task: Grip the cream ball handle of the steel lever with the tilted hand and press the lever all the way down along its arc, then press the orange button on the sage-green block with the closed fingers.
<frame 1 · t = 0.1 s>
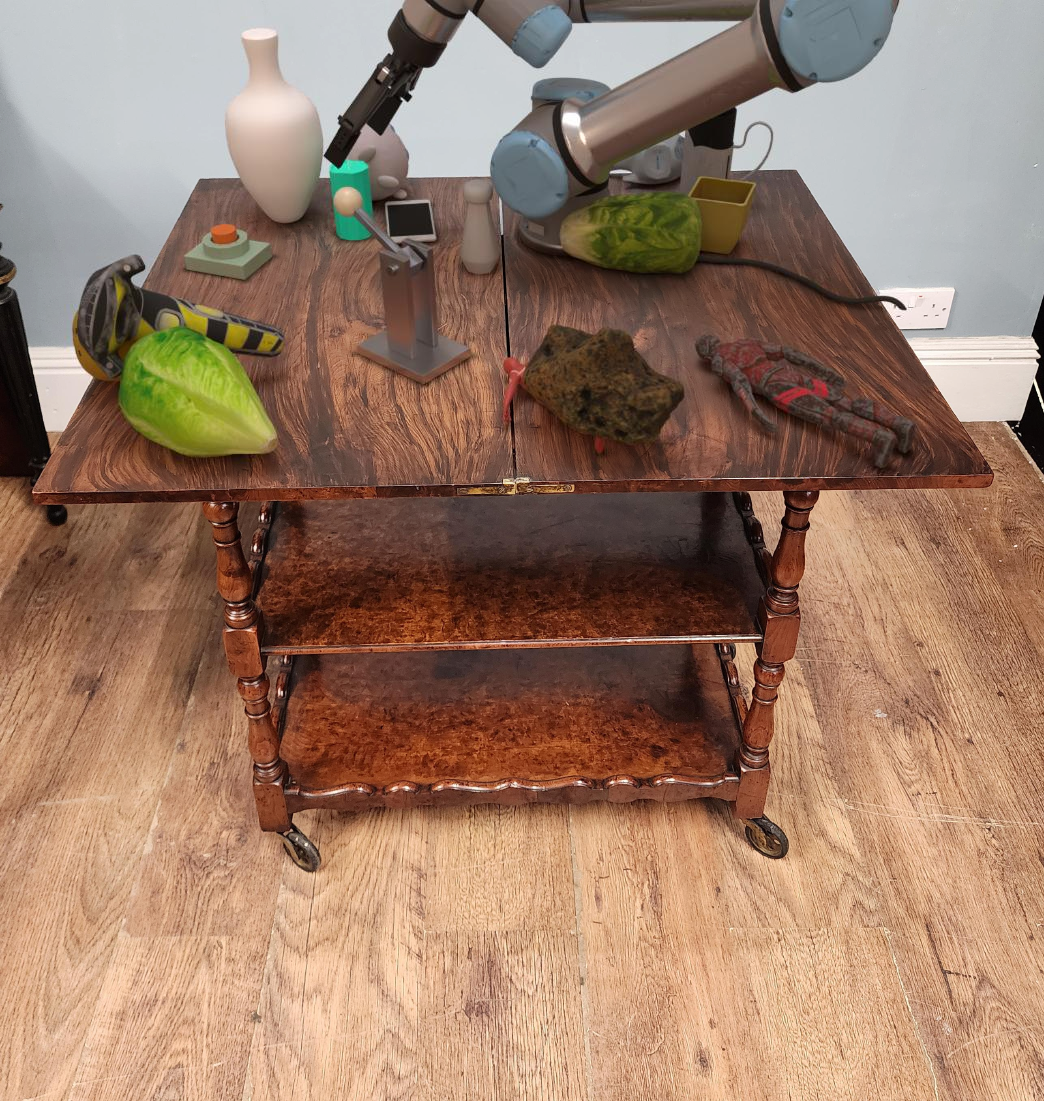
hand: (353, 145, 157), 15 cm above the table, tool tilted 35°, fingers open, 13 cm apart
figurine 3: (901, 444, 122), point 2 cm above the table
lever: (376, 231, 134), point 16 cm above the table, hinge at 28.0°
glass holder: (718, 205, 177), on the table
lettuce: (224, 423, 129), on the table, touching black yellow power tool
button block: (229, 263, 162), on the table
salt shaker: (480, 269, 161), on the table
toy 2: (197, 333, 139), point 4 cm above the table
candle: (355, 233, 170), on the table
figurine 2: (620, 434, 125), point 1 cm above the table, touching rock
bracket: (414, 355, 142), on the table
flower pot: (714, 248, 166), on the table
vase: (287, 220, 174), on the table
lettuce 2: (628, 267, 161), on the table
smartphone: (410, 224, 172), on the table
rock: (661, 400, 115), point 10 cm above the table, touching figurine 2
toy: (371, 174, 170), point 7 cm above the table
button: (224, 234, 159), point 4 cm above the table, slide at 0.1 cm
figurine: (653, 161, 179), point 5 cm above the table
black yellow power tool: (204, 337, 123), point 12 cm above the table, touching lettuce
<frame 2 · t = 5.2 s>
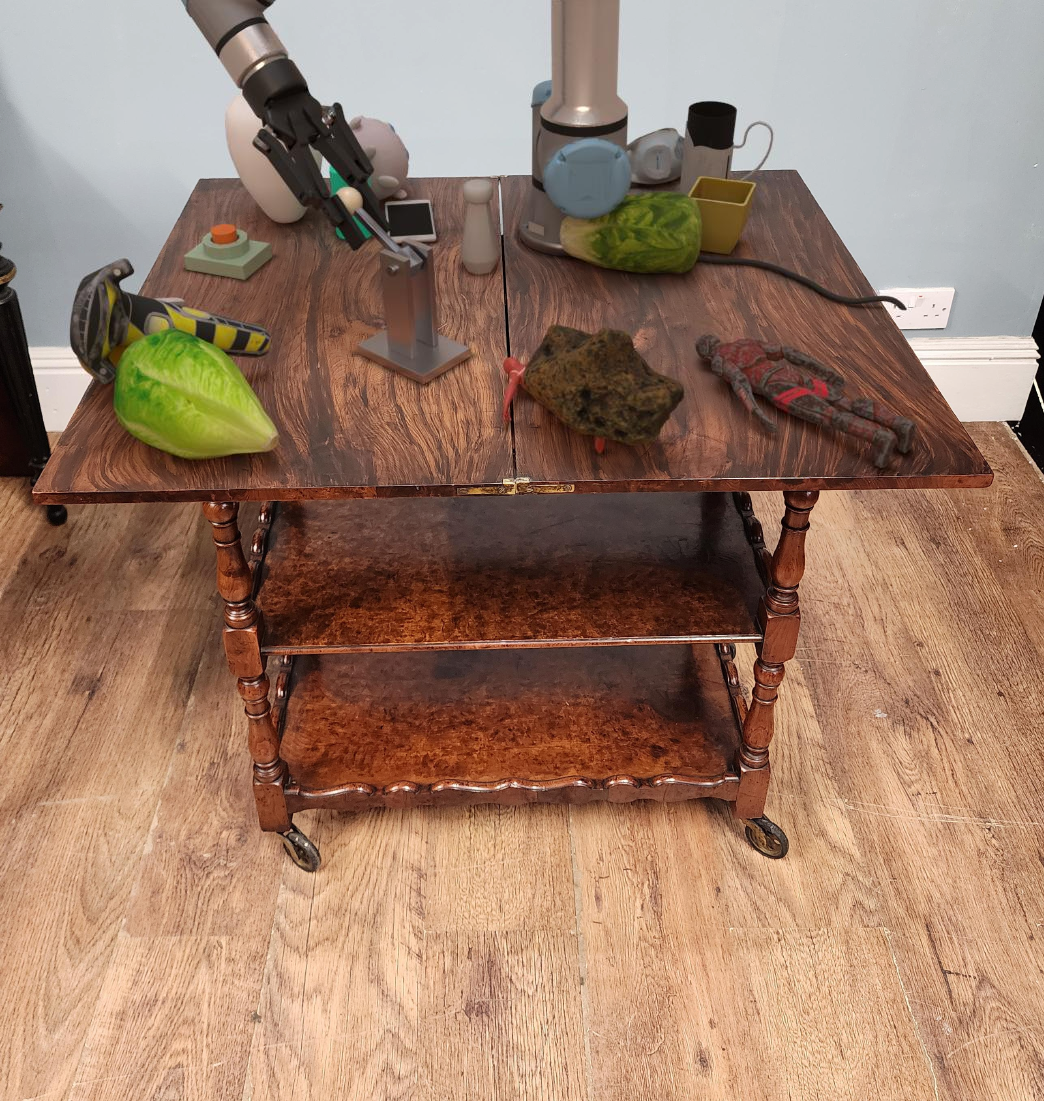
hand: (372, 239, 135), 14 cm above the table, tool tilted 45°, fingers closed on lever, 4 cm apart
lever: (376, 231, 134), point 16 cm above the table, hinge at 28.0°, touching gripper
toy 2: (197, 333, 139), point 4 cm above the table, touching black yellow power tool
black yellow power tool: (197, 339, 122), point 12 cm above the table, touching lettuce, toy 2
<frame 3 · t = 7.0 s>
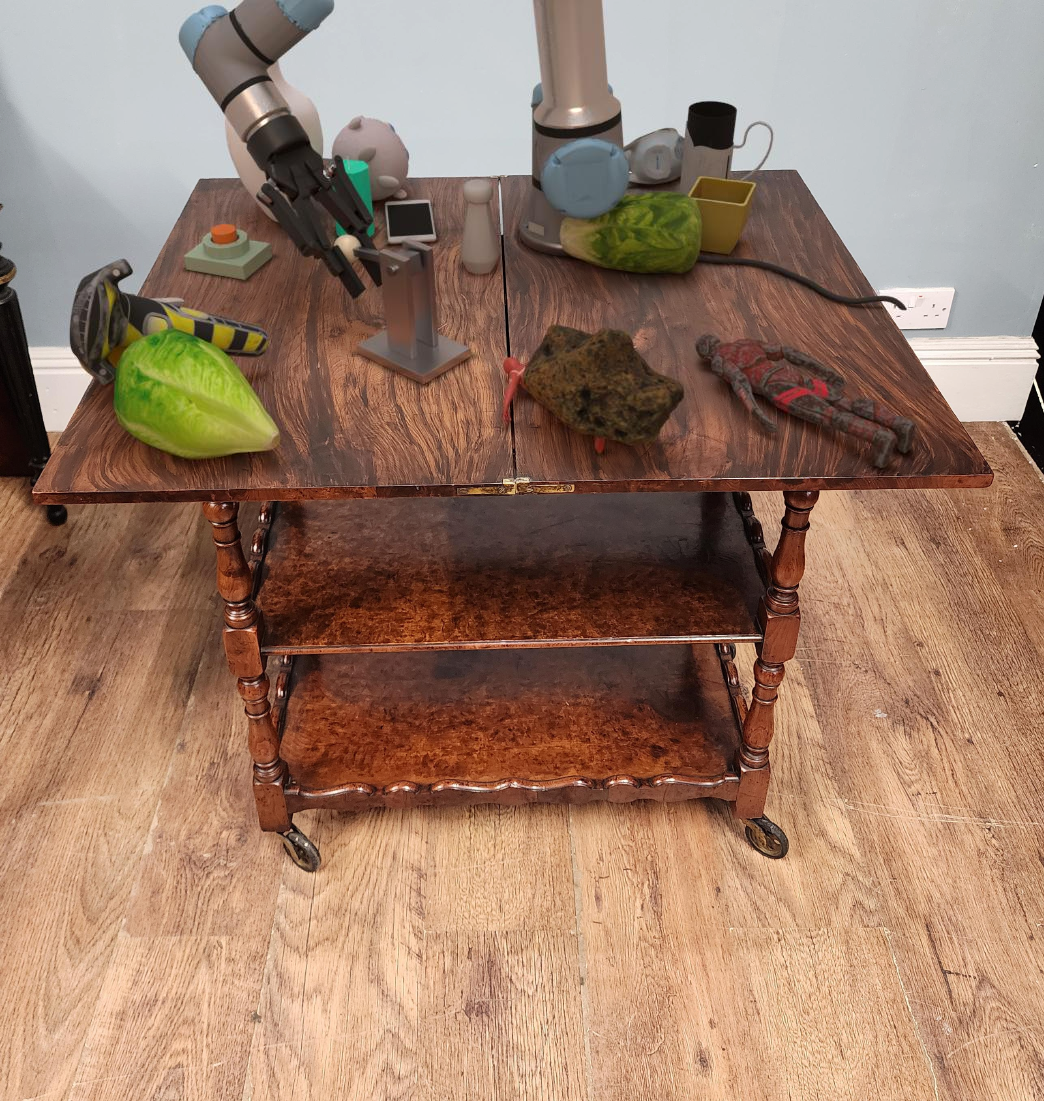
hand: (371, 287, 140), 7 cm above the table, tool tilted 45°, fingers closed on lever, 4 cm apart
lever: (375, 255, 137), point 12 cm above the table, hinge at -7.7°, touching gripper
everything else where it was.
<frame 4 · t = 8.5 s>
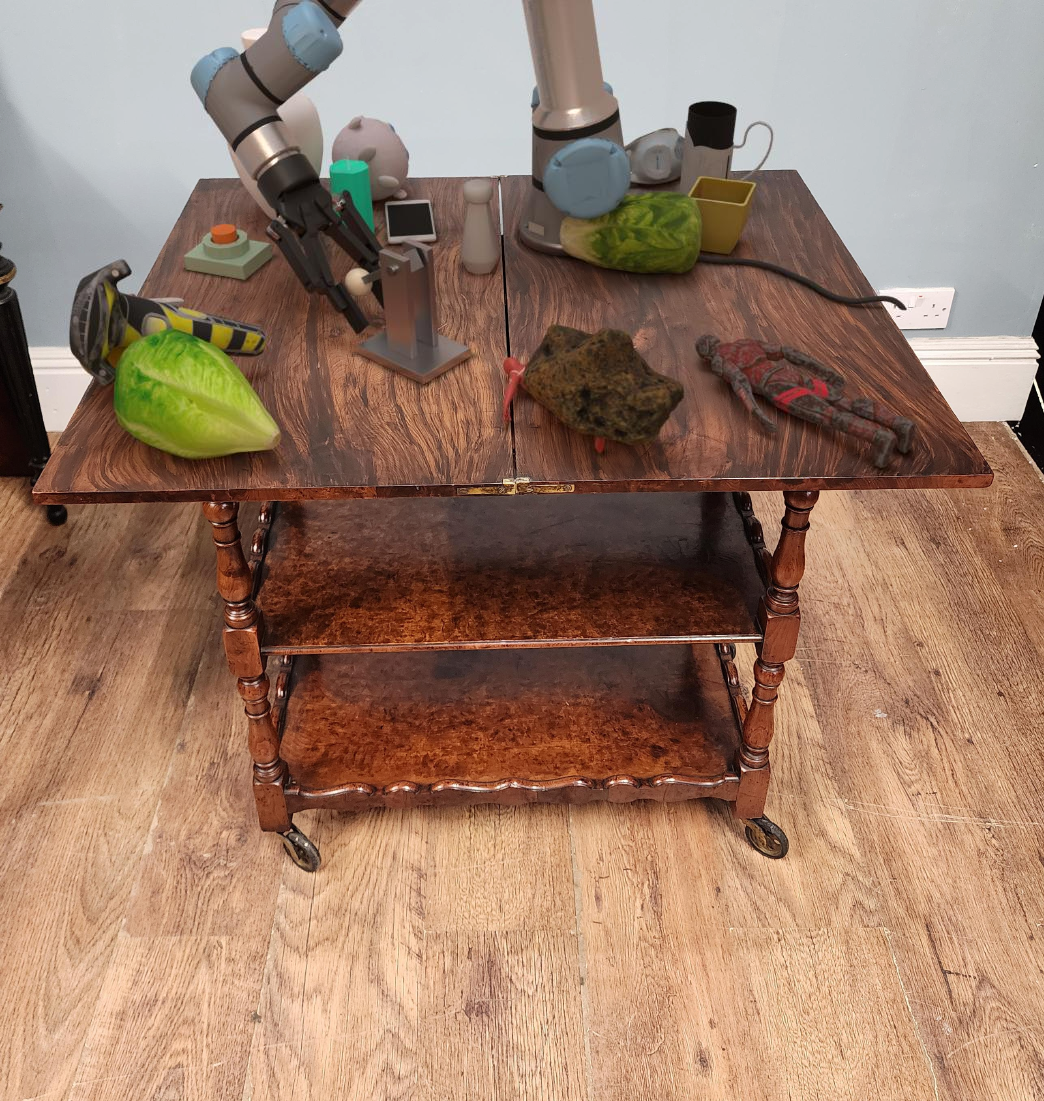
hand: (379, 320, 143), 3 cm above the table, tool tilted 45°, fingers open, 5 cm apart
lever: (381, 273, 138), point 10 cm above the table, hinge at -31.0°
everything else where it was.
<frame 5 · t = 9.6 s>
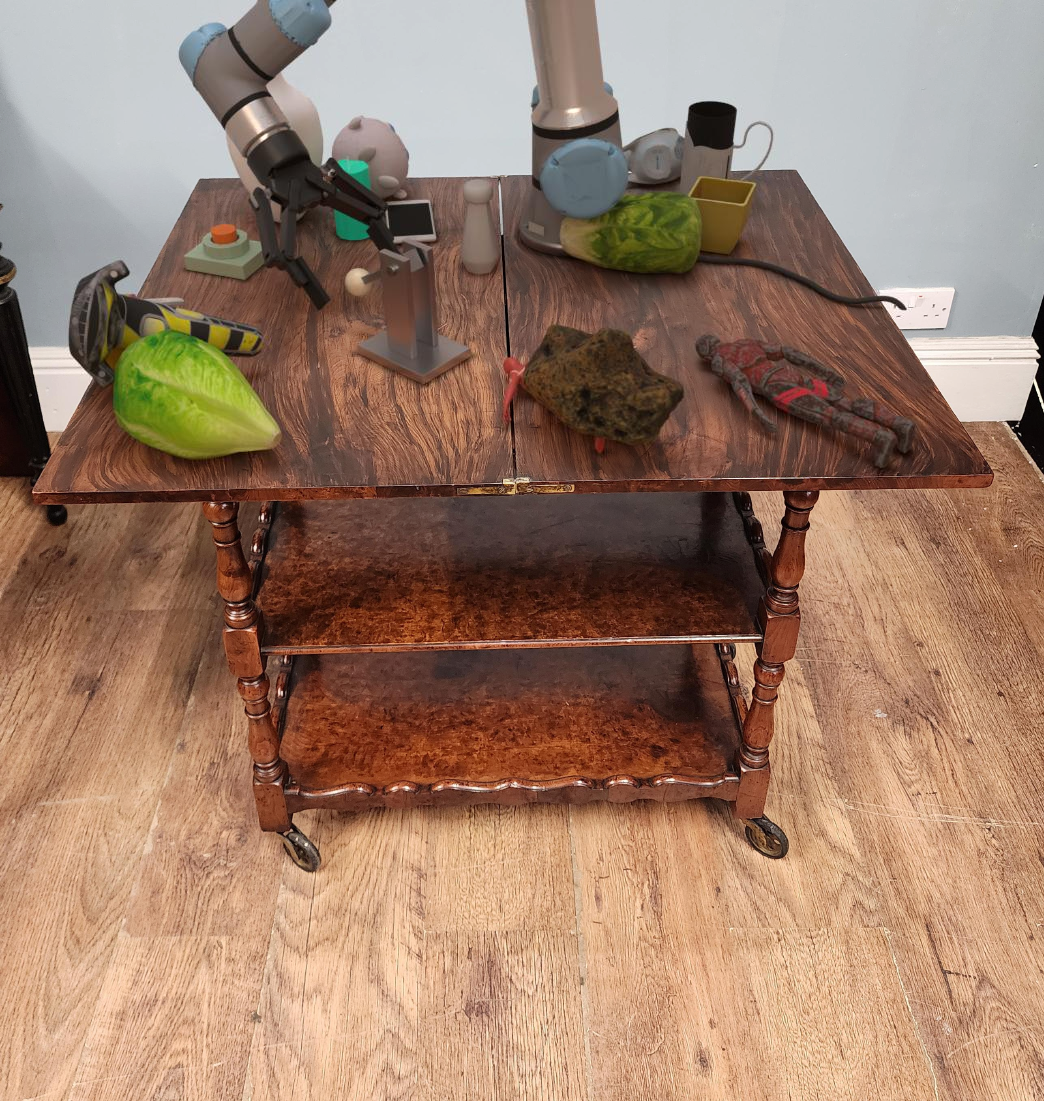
hand: (363, 285, 142), 7 cm above the table, tool tilted 45°, fingers open, 13 cm apart
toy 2: (196, 333, 139), point 4 cm above the table
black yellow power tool: (195, 339, 122), point 12 cm above the table, touching lettuce
everything else where it was.
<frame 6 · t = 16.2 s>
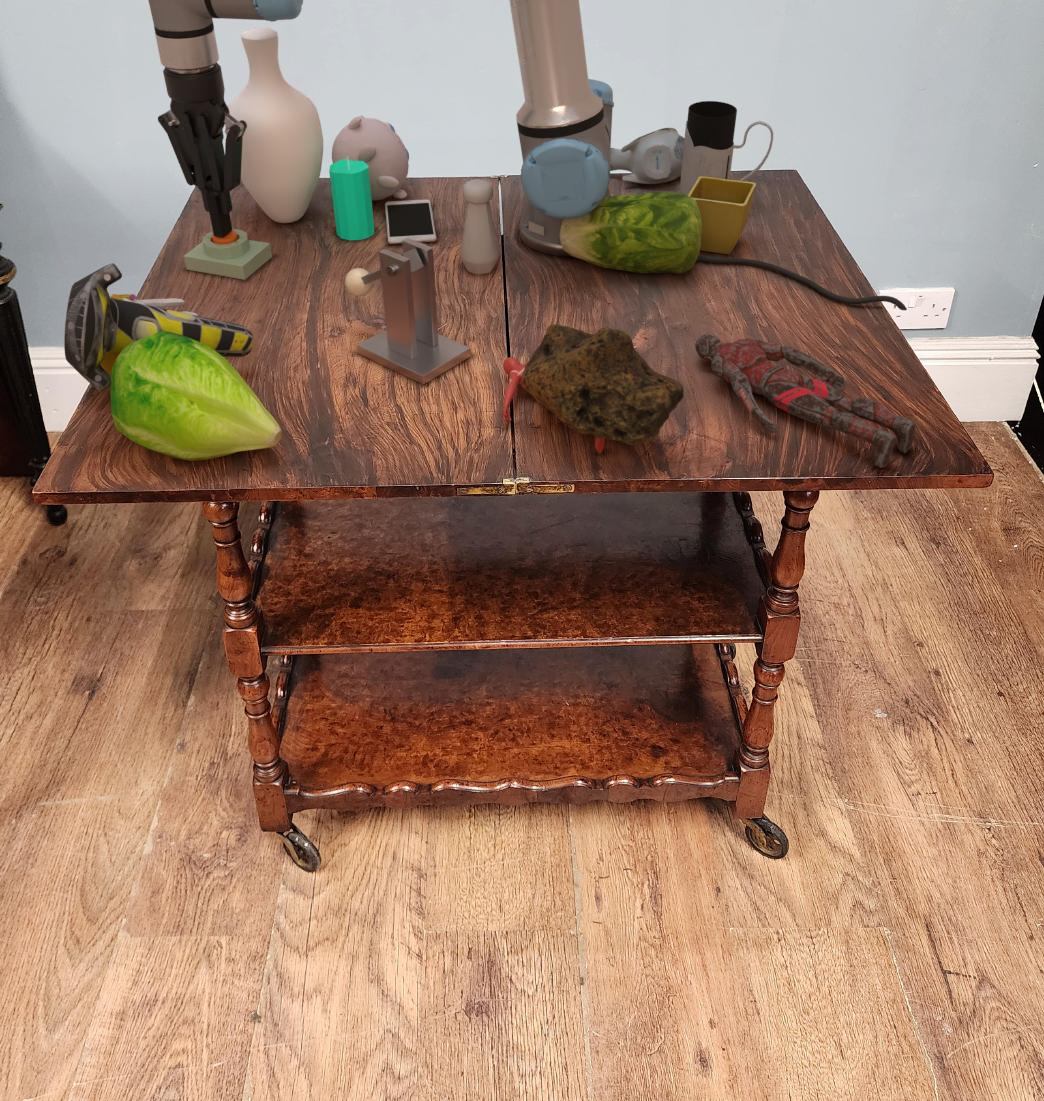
hand: (223, 233, 159), 5 cm above the table, tool pointing down, fingers closed
button: (225, 240, 160), point 4 cm above the table, slide at -0.7 cm, touching gripper
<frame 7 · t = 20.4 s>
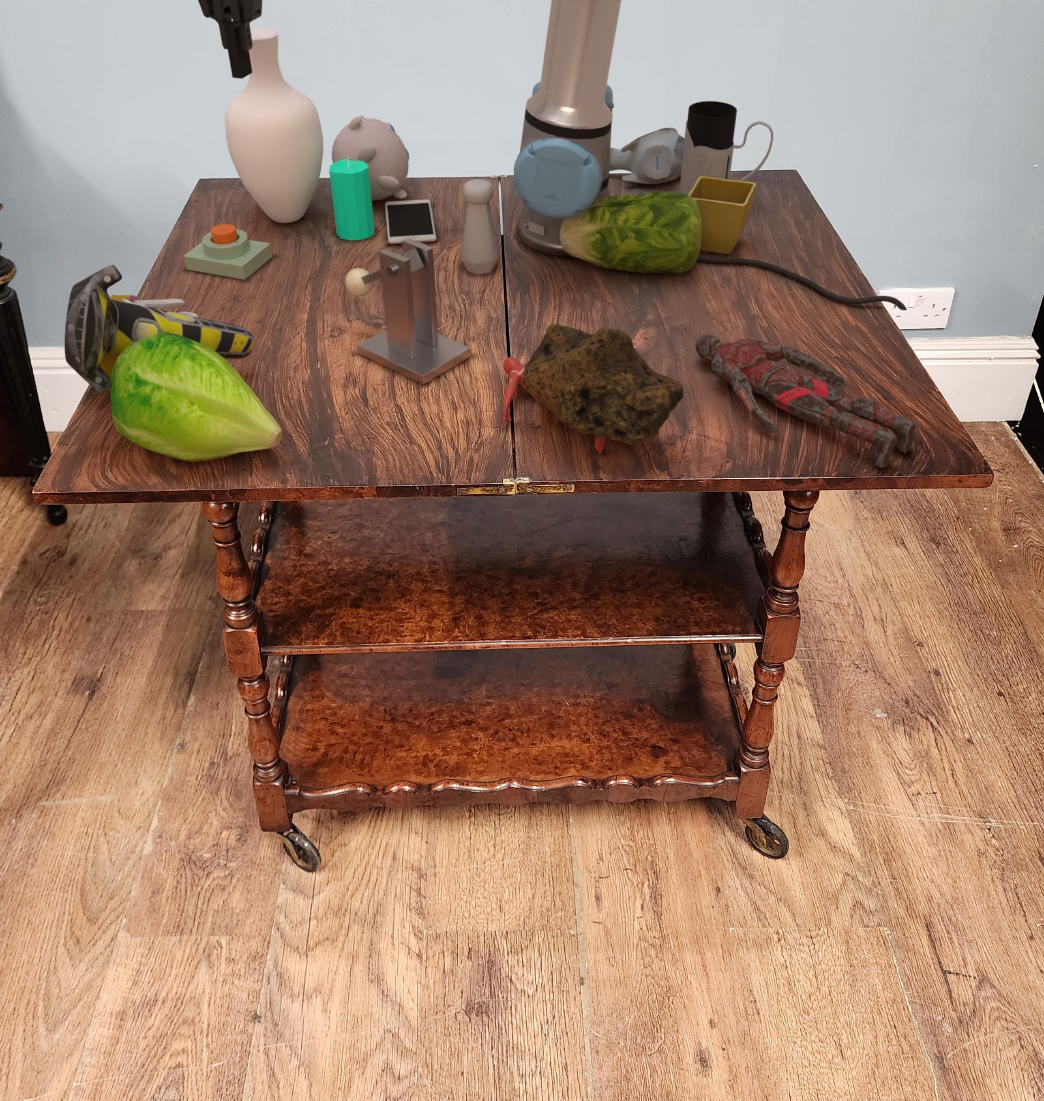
hand: (242, 75, 146), 26 cm above the table, tool pointing down, fingers closed
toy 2: (197, 334, 138), point 4 cm above the table, touching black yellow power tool
button: (224, 234, 159), point 4 cm above the table, slide at 0.1 cm
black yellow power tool: (190, 342, 122), point 11 cm above the table, touching lettuce, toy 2
at the end: lever at -31° (first picture: +28°); button pushed in 1.0 cm at the most during the clip, back to where it started at the end; button slide at 0.1 cm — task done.
